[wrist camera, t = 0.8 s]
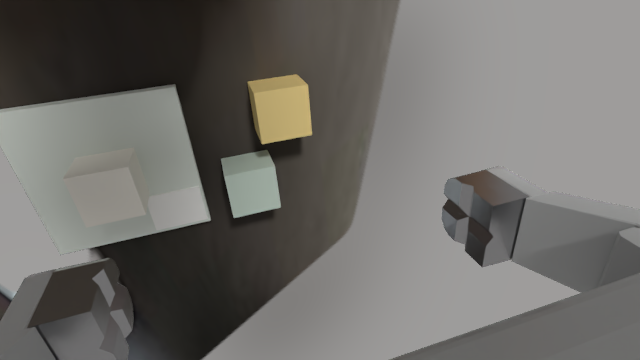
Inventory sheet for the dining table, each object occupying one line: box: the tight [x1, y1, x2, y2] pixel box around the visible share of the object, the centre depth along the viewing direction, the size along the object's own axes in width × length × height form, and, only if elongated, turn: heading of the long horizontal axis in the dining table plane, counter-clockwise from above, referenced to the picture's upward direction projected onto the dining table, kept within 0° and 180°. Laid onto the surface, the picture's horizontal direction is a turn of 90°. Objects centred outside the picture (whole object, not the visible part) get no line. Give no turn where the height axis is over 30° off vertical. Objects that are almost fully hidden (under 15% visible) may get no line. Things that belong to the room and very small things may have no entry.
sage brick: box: [221, 150, 281, 218], centre depth 47 cm, size 6×6×5 cm
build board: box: [0, 84, 211, 255], centre depth 41 cm, size 18×18×6 cm
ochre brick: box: [247, 74, 312, 144], centre depth 44 cm, size 6×6×5 cm
